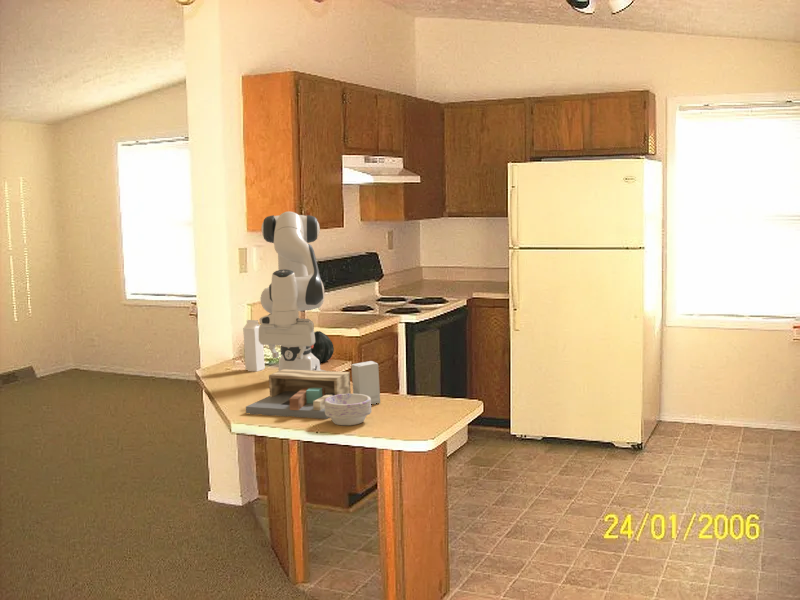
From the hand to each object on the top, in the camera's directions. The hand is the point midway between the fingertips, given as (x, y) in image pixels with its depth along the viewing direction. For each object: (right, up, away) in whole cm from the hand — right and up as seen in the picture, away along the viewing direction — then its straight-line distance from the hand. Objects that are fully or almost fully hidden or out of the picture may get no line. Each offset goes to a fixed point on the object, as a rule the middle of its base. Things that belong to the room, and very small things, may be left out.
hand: (287, 358), depth 293 cm
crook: (+7, -16, +4) cm, 18 cm away
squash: (+1, -8, +97) cm, 98 cm away
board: (+4, -18, +11) cm, 21 cm away
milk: (-25, -11, +83) cm, 87 cm away
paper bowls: (+21, -20, -12) cm, 32 cm away
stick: (+12, -17, 0) cm, 21 cm away
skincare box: (+26, -17, +12) cm, 34 cm away
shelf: (+6, -15, +18) cm, 24 cm away
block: (+8, -16, +7) cm, 19 cm away
